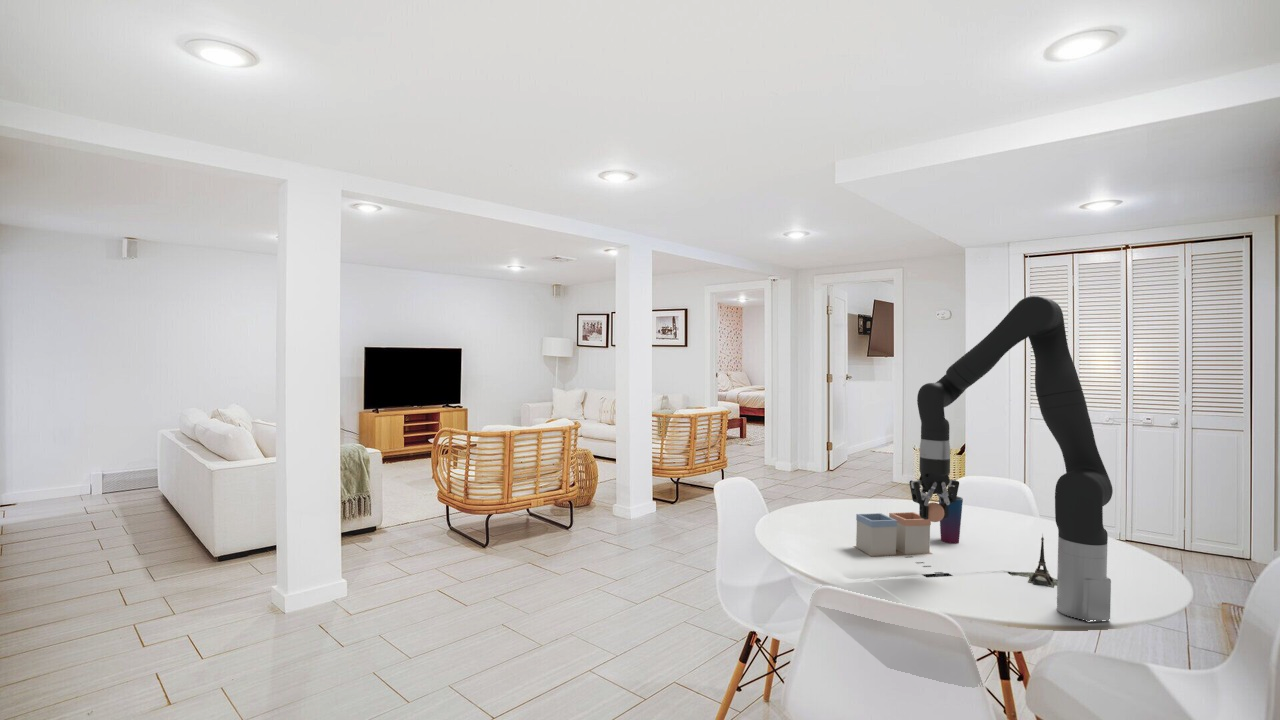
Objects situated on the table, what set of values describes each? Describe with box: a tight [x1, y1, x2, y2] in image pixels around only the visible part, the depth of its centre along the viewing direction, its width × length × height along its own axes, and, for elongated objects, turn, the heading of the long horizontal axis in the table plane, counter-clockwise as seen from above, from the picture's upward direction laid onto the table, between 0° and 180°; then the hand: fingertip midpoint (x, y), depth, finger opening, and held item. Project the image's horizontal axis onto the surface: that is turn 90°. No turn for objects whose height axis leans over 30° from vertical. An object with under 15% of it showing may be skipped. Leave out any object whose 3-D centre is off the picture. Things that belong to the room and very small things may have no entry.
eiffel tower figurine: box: [1007, 533, 1057, 589], centre depth 162 cm, size 15×10×13 cm
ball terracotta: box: [927, 502, 945, 523], centre depth 167 cm, size 5×5×5 cm
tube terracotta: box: [888, 511, 932, 554], centre depth 185 cm, size 8×8×10 cm
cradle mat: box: [905, 555, 954, 578], centre depth 171 cm, size 14×8×1 cm, turn 11°
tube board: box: [852, 545, 933, 558], centre depth 184 cm, size 10×20×1 cm, turn 101°
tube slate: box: [855, 512, 897, 556], centre depth 183 cm, size 8×8×10 cm
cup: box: [938, 495, 964, 544], centre depth 194 cm, size 7×7×15 cm
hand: (933, 518), depth 167 cm, fingers closed on ball terracotta, 5 cm apart
